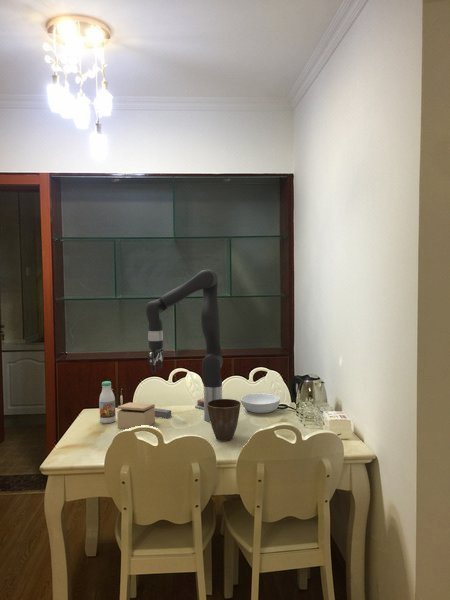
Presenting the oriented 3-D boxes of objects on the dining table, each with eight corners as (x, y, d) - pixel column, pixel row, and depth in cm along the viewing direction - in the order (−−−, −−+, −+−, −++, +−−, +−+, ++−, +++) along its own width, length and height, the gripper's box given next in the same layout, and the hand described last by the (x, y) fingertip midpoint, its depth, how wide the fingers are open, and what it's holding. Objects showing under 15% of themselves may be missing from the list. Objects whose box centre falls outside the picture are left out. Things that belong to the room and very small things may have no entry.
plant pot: (207, 433, 223) (206, 399, 222) (239, 432, 224) (238, 398, 223) (208, 445, 208) (207, 408, 207) (242, 443, 209) (242, 407, 208)
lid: (154, 406, 240) (154, 404, 240) (144, 410, 228) (144, 408, 228) (129, 404, 244) (129, 402, 244) (117, 408, 232) (117, 406, 232)
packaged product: (194, 400, 264) (206, 396, 272) (194, 408, 264) (206, 404, 272) (218, 405, 252) (231, 401, 260) (219, 414, 253) (231, 410, 260)
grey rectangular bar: (171, 416, 250) (171, 410, 250) (167, 419, 246) (167, 412, 246) (148, 413, 256) (148, 407, 255) (144, 416, 252) (144, 409, 252)
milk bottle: (96, 421, 243) (95, 382, 242) (110, 417, 249) (108, 379, 247) (105, 424, 238) (104, 384, 237) (118, 420, 244) (117, 381, 242)
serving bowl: (233, 412, 254) (233, 399, 254) (254, 403, 272) (253, 391, 271) (267, 419, 243) (267, 405, 242) (287, 408, 260) (287, 396, 259)
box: (155, 422, 240) (154, 406, 240) (144, 430, 229) (144, 413, 228) (129, 420, 244) (129, 404, 244) (117, 427, 233) (117, 411, 232)
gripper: (156, 341, 240) (157, 373, 241) (167, 337, 254) (168, 368, 255) (142, 341, 243) (143, 373, 244) (154, 337, 256) (155, 367, 257)
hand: (156, 370), depth 249 cm, fingers open, 8 cm apart
